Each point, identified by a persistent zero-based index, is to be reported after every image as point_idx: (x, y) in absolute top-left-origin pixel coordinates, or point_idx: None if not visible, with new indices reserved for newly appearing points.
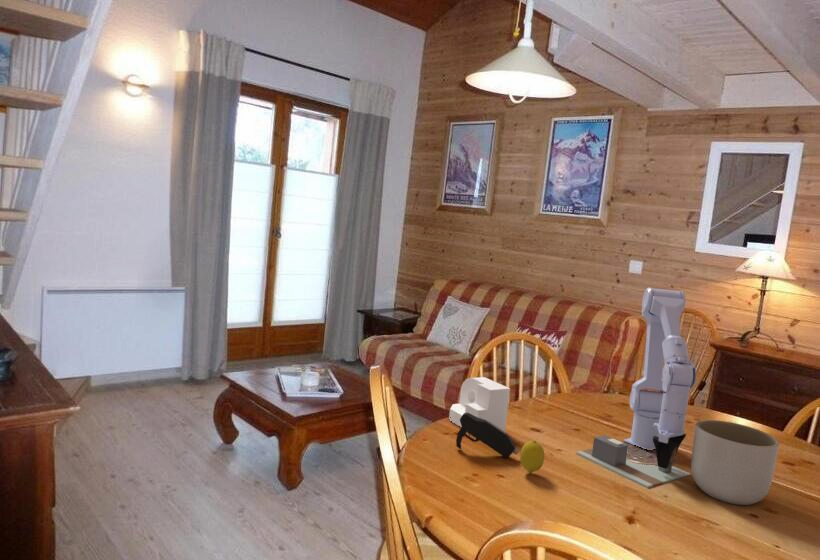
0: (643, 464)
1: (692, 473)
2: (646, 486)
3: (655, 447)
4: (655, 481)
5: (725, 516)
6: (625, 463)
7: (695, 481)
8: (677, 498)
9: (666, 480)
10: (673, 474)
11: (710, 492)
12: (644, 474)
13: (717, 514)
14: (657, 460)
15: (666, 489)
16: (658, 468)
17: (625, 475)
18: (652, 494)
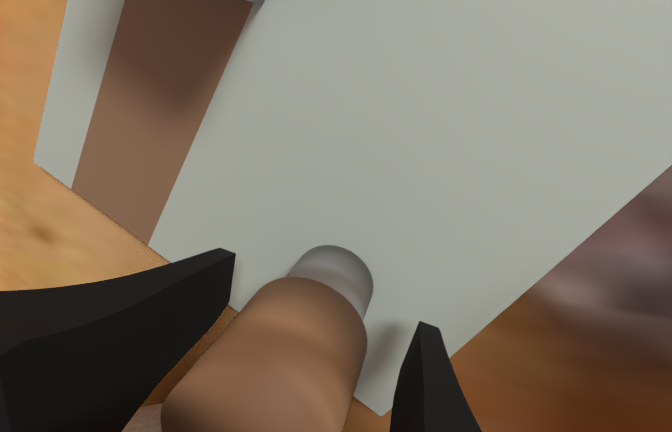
0: (353, 149)
1: (151, 423)
2: (38, 154)
3: (51, 289)
4: (121, 206)
5: None
6: (255, 1)
7: (161, 404)
8: (61, 281)
9: None
10: None
11: None
12: (172, 149)
13: None
14: (187, 260)
15: (113, 249)
16: (322, 248)
17: (63, 25)
18: (9, 178)
